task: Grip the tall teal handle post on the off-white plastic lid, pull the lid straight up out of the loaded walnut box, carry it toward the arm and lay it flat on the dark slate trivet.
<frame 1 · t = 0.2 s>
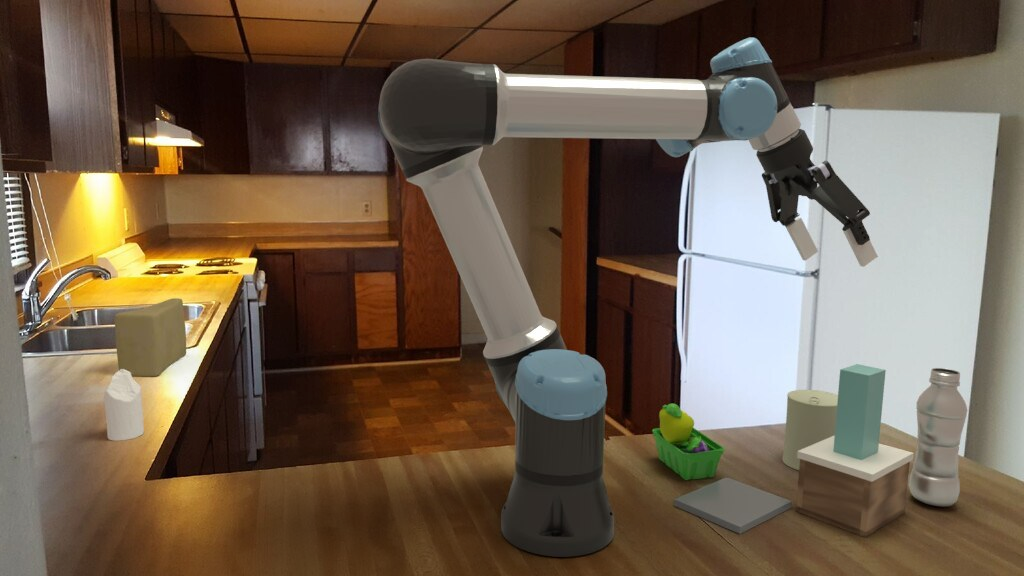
hand: (838, 258, 117), 35 cm above the worktop, tool tilted 35°, fingers open, 13 cm apart
lid: (855, 458, 106), point 8 cm above the worktop, touching box
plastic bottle: (931, 503, 111), on the worktop
can: (811, 464, 126), on the worktop
fruit basket: (682, 469, 123), on the worktop
white upright rounded piece: (125, 436, 134), on the worktop
cheese: (161, 365, 182), on the worktop
trivet: (732, 506, 109), on the worktop
box: (850, 511, 108), on the worktop
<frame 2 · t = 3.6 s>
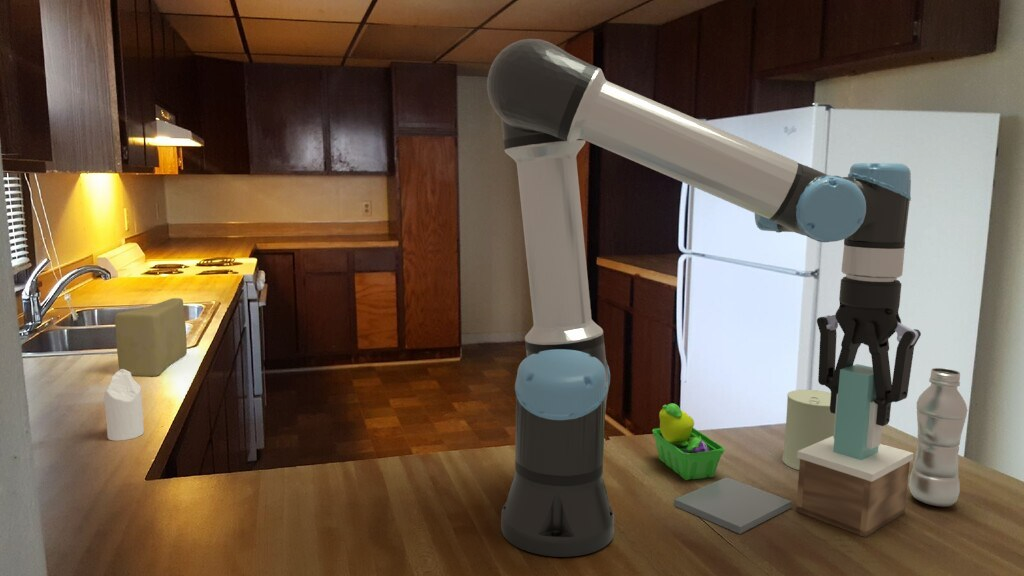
hand: (856, 440, 106), 11 cm above the worktop, tool pointing down, fingers closed on lid, 4 cm apart
lid: (854, 458, 106), point 8 cm above the worktop, touching box, gripper
everything else where it was.
when the fingers open (6 cm above the worktop, at t = 11.6 s): lid drops 2 cm, resting on trivet.
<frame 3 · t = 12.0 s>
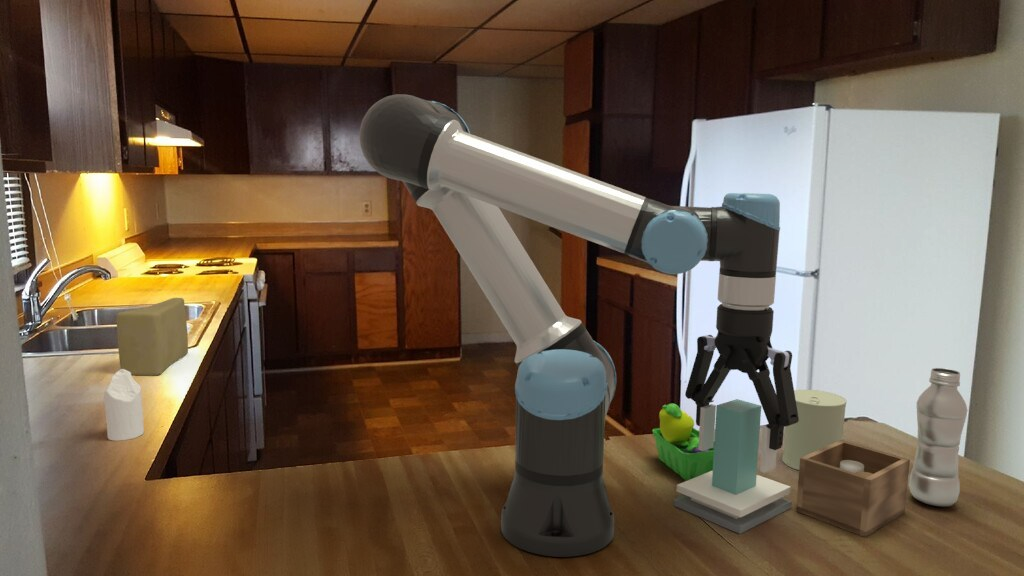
hand: (735, 458, 107), 7 cm above the worktop, tool pointing down, fingers open, 9 cm apart
lid: (733, 492, 108), point 2 cm above the worktop, touching trivet
everything else where it was.
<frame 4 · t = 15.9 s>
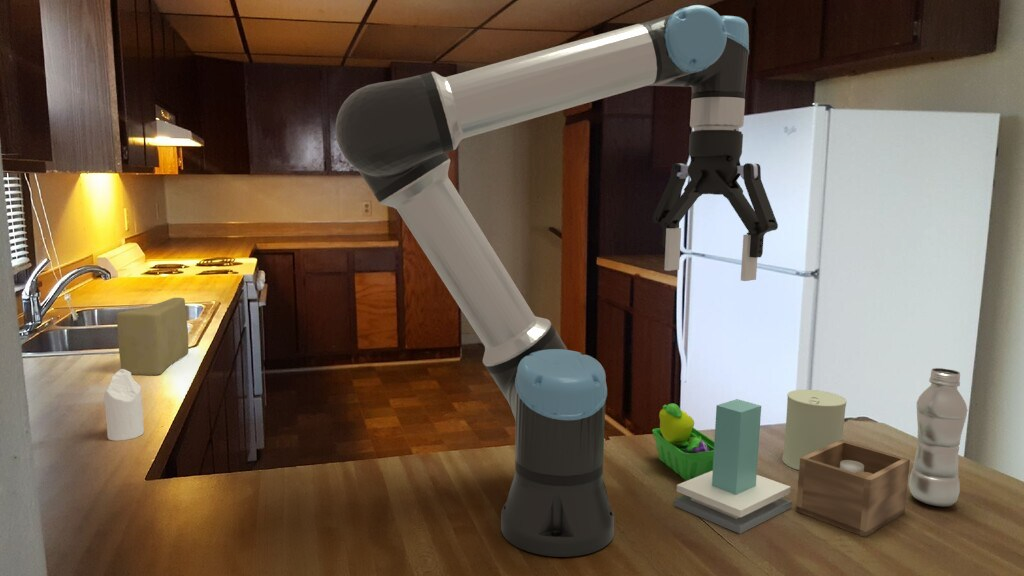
hand: (708, 275, 112), 33 cm above the worktop, tool pointing down, fingers open, 13 cm apart
at the end: lid inside the target area on the trivet (0.0 cm from its centre), point 2.2 cm above the trivet's base; lid tilted 0°; the gripper is holding nothing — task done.
